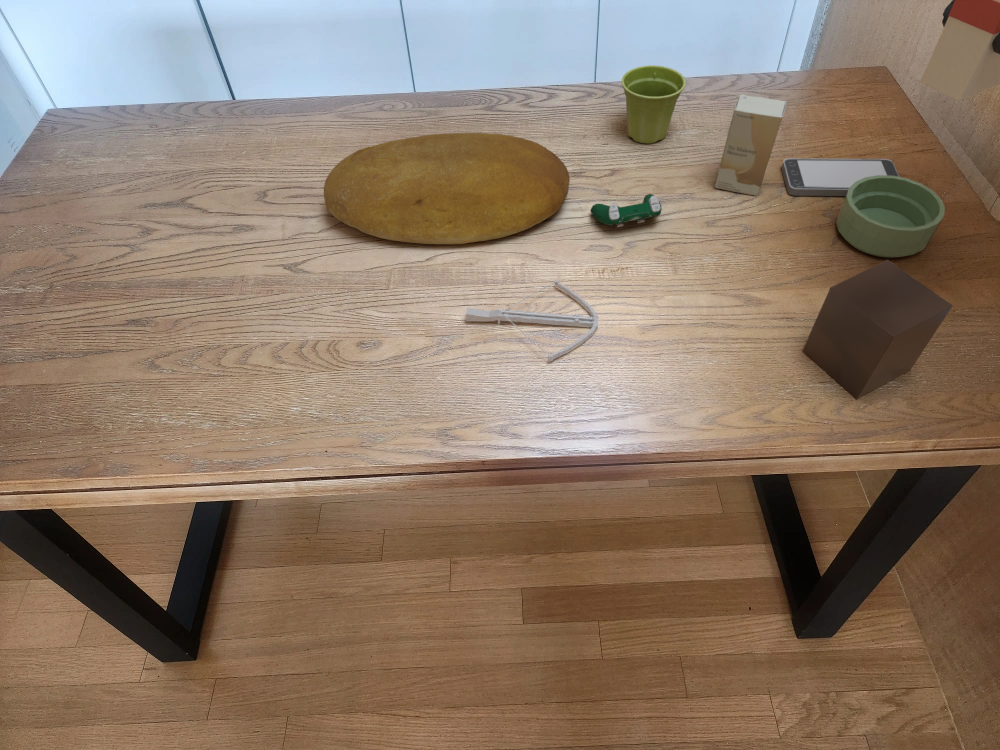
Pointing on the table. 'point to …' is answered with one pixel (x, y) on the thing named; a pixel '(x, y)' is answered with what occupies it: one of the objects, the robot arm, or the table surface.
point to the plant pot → (651, 101)
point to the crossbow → (543, 319)
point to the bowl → (889, 216)
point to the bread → (447, 188)
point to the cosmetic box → (749, 143)
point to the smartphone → (830, 174)
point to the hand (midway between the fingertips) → (971, 37)
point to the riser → (874, 327)
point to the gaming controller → (627, 211)
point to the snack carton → (966, 51)
